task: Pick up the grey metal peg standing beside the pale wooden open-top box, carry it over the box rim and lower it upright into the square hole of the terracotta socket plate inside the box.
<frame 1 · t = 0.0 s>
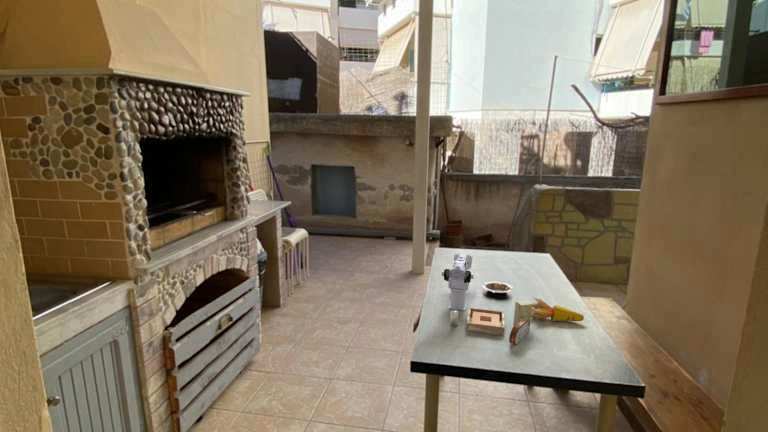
hand: (456, 279, 184), 22 cm above the table, tool horizontal, fingers open, 7 cm apart
tin: (518, 340, 176), on the table
skincare box: (521, 327, 187), on the table
torch: (553, 321, 194), on the table
open box: (485, 324, 189), on the table
peg: (453, 325, 189), on the table
socket plate: (485, 321, 189), in the open box, point 1 cm above the table
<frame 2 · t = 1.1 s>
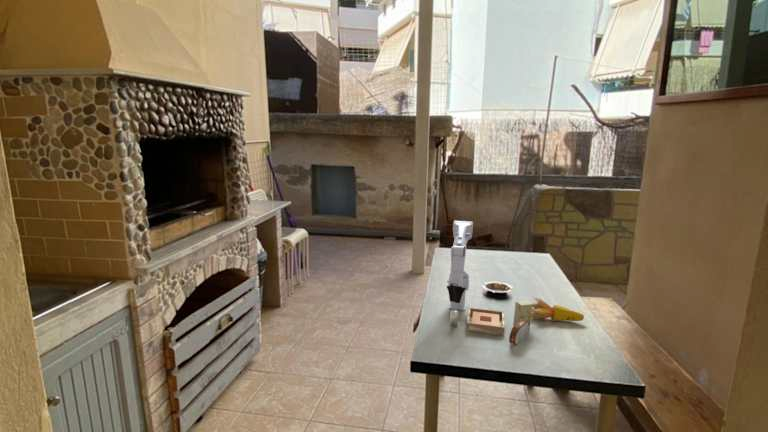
hand: (454, 302, 185), 12 cm above the table, tool tilted 20°, fingers open, 7 cm apart
nothing on the table moved.
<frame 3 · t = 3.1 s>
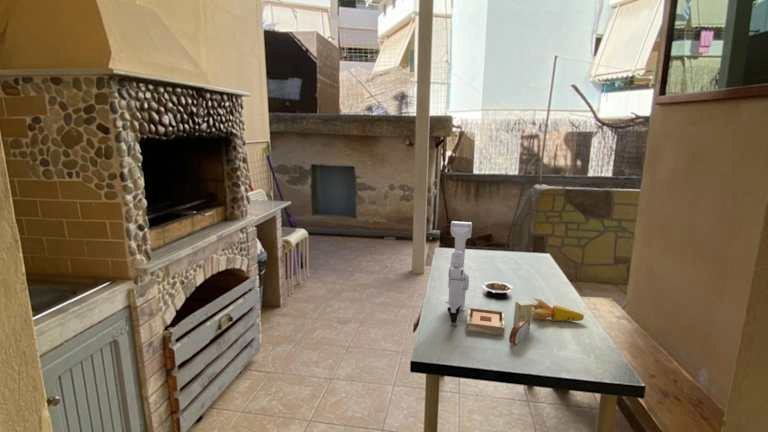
hand: (453, 320, 188), 2 cm above the table, tool pointing down, fingers closed on peg, 3 cm apart
peg: (453, 325, 189), on the table, touching gripper
everything else where it was.
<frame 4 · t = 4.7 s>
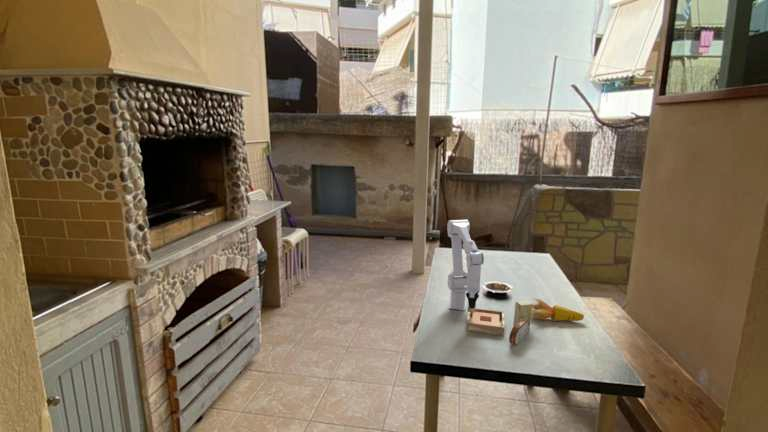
hand: (472, 306, 187), 9 cm above the table, tool pointing down, fingers closed on peg, 3 cm apart
peg: (471, 311, 187), point 7 cm above the table, touching gripper
everything else where it was.
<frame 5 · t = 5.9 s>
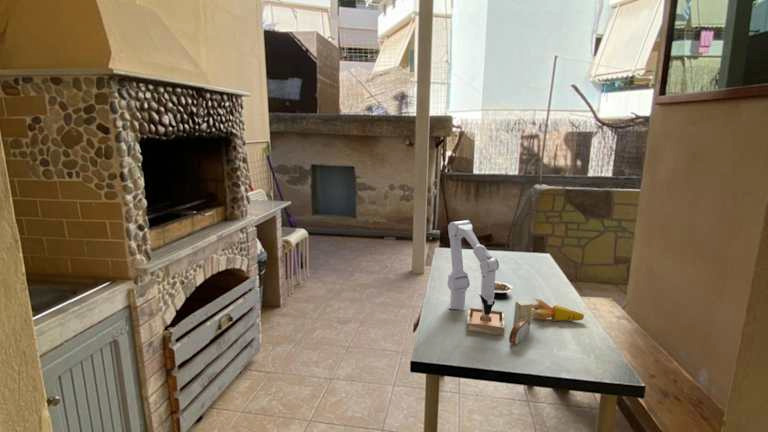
hand: (486, 312, 187), 6 cm above the table, tool pointing down, fingers closed on peg, 3 cm apart
peg: (485, 317, 188), point 4 cm above the table, touching gripper
everything else where it was.
when the fingers open (4 cm above the table, at t = 6.8 s): peg stays where it is, resting on open box.
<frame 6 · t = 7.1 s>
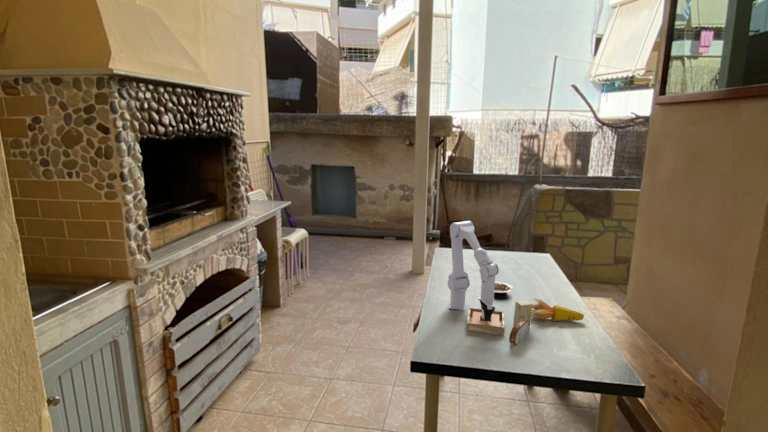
hand: (485, 316, 188), 4 cm above the table, tool pointing down, fingers open, 6 cm apart
peg: (485, 323, 189), point 1 cm above the table, touching open box
everything else where it was.
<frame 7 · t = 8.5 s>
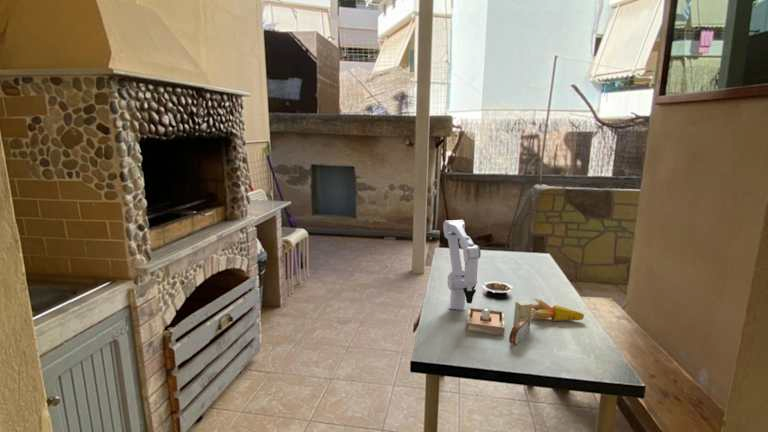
hand: (469, 299, 191), 10 cm above the table, tool pointing down, fingers open, 7 cm apart
nothing on the table moved.
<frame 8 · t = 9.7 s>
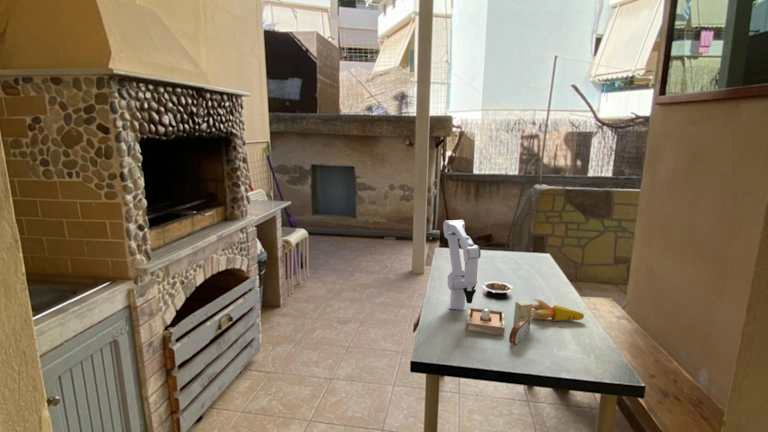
hand: (469, 299, 191), 10 cm above the table, tool pointing down, fingers open, 7 cm apart
nothing on the table moved.
at the end: peg 0.1 cm off-centre on the socket plate, point 0.6 cm above the socket plate's base; peg tilted 0°; the gripper is holding nothing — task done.
